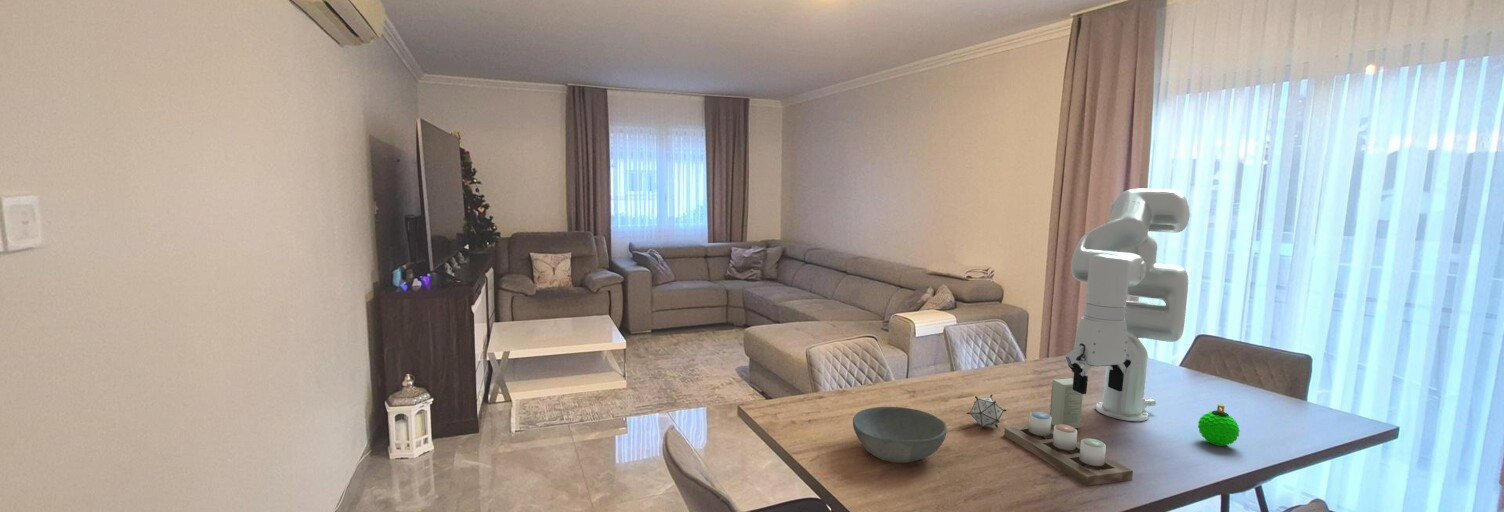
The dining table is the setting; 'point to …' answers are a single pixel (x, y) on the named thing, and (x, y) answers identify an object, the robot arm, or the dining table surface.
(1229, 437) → the ornament
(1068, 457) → the rack with square compartments
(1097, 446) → the white round cylinder
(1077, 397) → the skincare box
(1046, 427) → the small jar
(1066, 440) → the small jar
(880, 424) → the bowl
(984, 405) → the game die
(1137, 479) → the dining table surface
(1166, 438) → the dining table surface
